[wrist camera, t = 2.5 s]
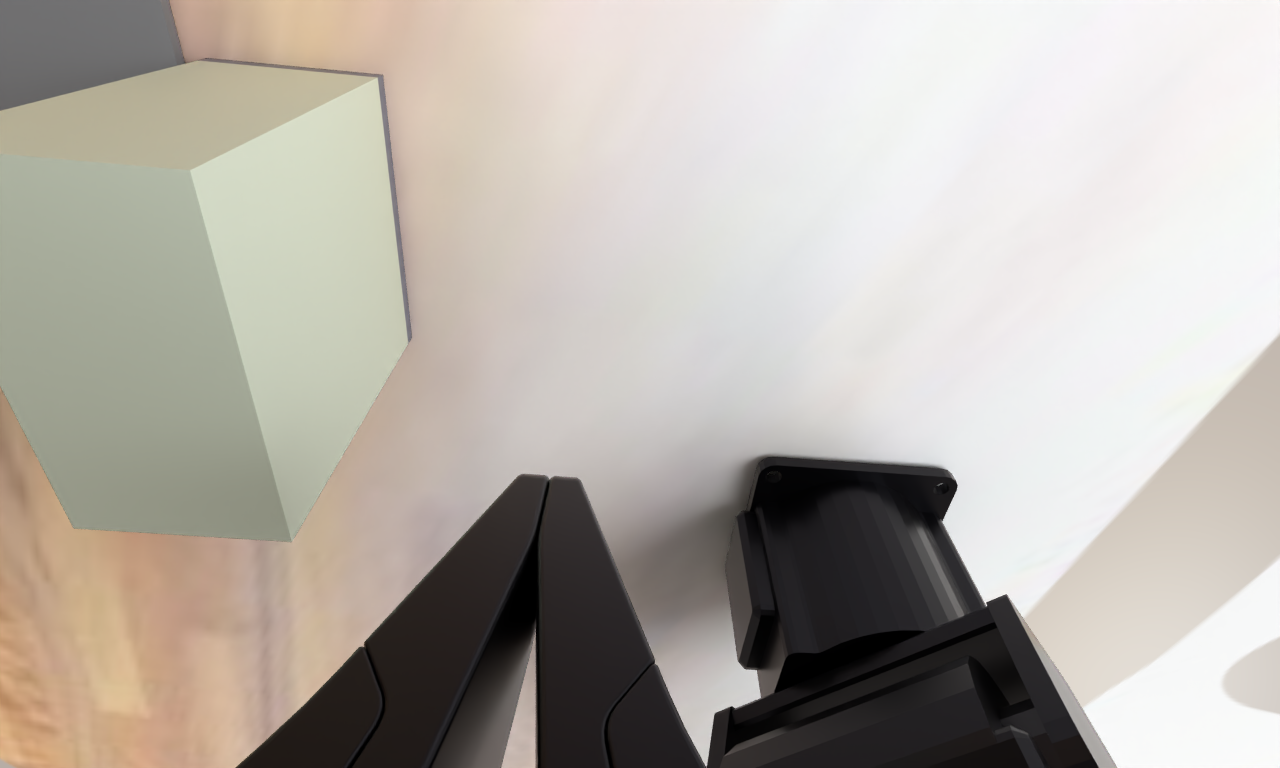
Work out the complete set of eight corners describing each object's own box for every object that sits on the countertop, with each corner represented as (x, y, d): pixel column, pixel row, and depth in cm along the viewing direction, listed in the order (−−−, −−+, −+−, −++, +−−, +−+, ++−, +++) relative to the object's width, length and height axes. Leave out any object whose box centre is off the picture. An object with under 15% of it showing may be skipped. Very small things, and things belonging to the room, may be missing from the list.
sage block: (383, 74, 16) (189, 170, 9) (412, 336, 19) (292, 542, 13) (207, 57, 15) (-127, 142, 9) (271, 325, 19) (73, 528, 13)
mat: (156, -48, 14) (147, -47, 14) (266, 384, 20) (262, 389, 20) (-313, -96, 14) (-331, -96, 14) (-59, 360, 20) (-68, 365, 20)
